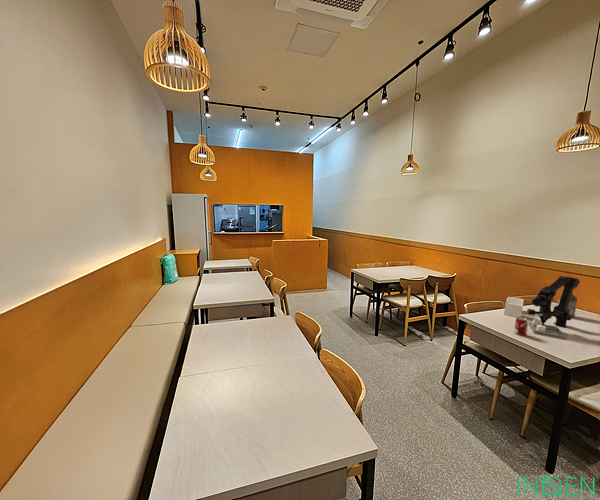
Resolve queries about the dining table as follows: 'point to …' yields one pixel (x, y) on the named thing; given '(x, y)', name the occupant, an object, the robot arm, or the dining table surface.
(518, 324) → the soda can
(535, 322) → the tab
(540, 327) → the tab
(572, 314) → the liquor
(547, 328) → the gray shelf unit
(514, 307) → the storage container
